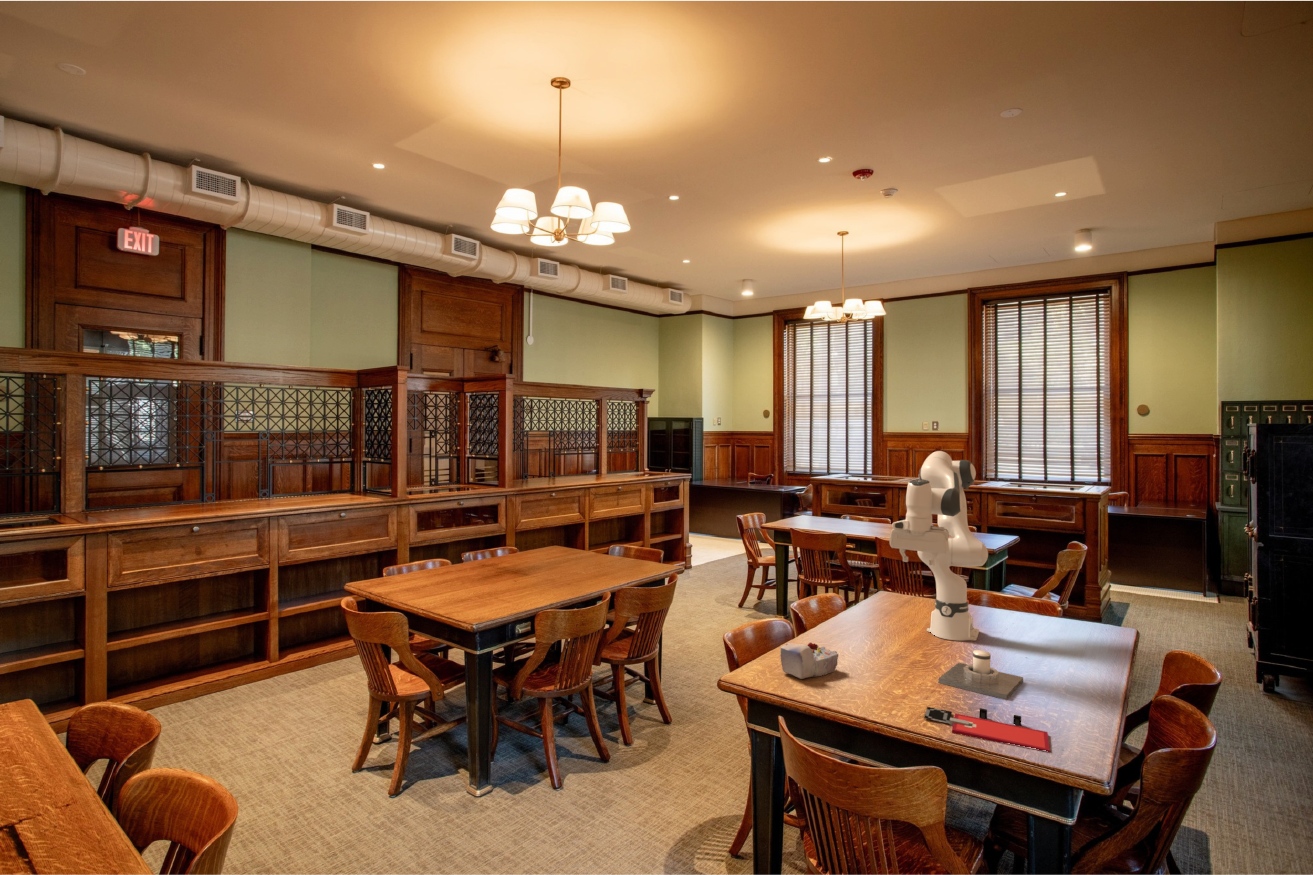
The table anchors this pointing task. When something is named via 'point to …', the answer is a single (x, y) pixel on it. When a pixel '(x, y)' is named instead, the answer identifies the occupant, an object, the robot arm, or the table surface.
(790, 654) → the cell model
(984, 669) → the banded peg cylinder
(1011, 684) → the ring mount
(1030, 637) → the table surface
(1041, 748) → the red board with handle
